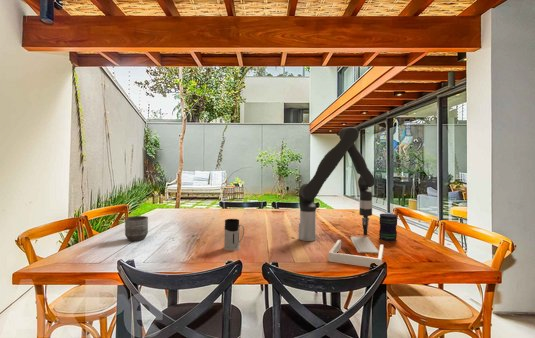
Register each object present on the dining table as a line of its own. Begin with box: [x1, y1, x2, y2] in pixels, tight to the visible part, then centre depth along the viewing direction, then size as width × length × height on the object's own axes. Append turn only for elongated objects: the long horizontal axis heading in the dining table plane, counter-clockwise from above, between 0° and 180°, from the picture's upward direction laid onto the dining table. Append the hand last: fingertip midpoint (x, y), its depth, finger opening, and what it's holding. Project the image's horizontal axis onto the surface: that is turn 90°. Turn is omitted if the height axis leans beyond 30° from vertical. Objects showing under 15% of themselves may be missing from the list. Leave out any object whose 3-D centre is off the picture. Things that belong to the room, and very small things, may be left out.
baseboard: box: [348, 234, 379, 255], centre depth 166 cm, size 31×3×12 cm
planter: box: [124, 215, 149, 242], centre depth 172 cm, size 12×12×13 cm
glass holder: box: [223, 218, 245, 252], centre depth 155 cm, size 9×14×15 cm, turn 45°
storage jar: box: [378, 213, 398, 243], centre depth 178 cm, size 10×10×15 cm
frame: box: [327, 239, 384, 268], centre depth 145 cm, size 23×26×4 cm
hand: (365, 235), depth 185 cm, fingers closed
